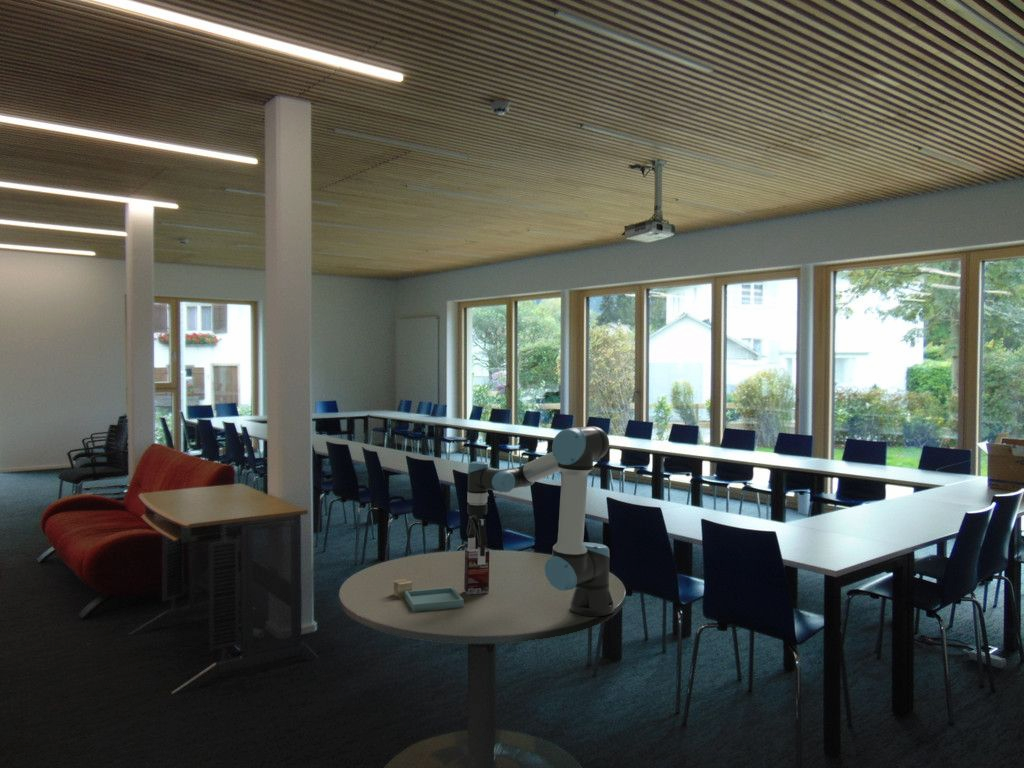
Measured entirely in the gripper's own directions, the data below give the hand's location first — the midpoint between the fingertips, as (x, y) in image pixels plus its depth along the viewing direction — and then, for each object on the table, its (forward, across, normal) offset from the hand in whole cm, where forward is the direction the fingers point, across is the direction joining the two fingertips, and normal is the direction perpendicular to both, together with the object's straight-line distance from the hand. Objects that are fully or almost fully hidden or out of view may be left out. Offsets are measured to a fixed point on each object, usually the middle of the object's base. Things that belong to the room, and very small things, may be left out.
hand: (476, 559), depth 280 cm
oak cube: (+13, +4, +27) cm, 30 cm away
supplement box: (+12, 0, 0) cm, 13 cm away
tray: (+12, -8, +18) cm, 23 cm away
